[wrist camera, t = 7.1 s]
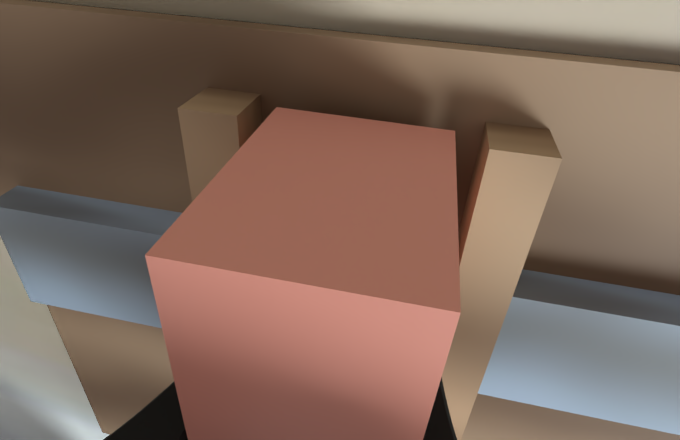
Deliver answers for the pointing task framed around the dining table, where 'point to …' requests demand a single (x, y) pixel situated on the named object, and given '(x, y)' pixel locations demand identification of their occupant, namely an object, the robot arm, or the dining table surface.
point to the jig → (375, 104)
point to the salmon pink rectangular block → (314, 283)
